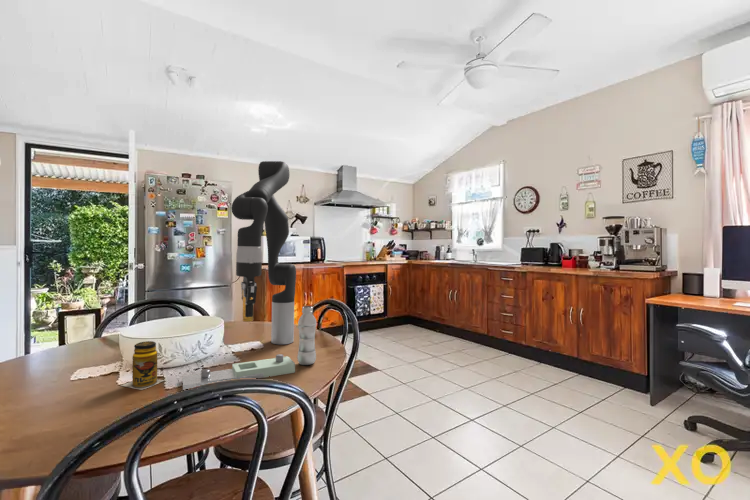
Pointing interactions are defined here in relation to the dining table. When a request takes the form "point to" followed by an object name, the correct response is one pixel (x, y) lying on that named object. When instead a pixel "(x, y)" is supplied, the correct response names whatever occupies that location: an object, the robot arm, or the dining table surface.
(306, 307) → the plastic bottle
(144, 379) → the condiment
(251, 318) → the pin
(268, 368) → the block
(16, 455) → the dining table surface
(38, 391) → the dining table surface
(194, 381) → the lower chain end
